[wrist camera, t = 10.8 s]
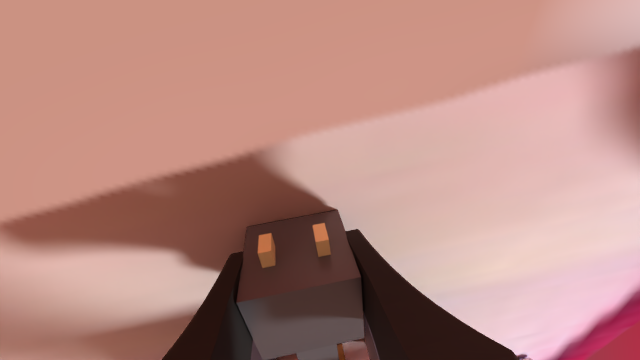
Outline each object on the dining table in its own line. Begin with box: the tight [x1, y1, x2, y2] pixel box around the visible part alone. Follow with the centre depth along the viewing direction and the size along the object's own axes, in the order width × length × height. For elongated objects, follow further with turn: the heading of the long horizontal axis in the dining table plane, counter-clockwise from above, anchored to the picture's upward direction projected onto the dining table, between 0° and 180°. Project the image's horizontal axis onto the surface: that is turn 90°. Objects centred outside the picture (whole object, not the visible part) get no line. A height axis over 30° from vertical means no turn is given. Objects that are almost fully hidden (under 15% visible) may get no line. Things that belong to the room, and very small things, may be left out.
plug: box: [236, 210, 364, 360], centre depth 14 cm, size 16×4×4 cm, turn 7°
